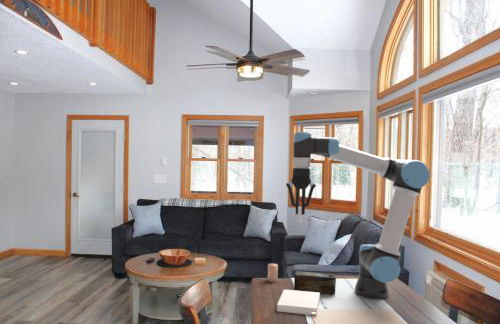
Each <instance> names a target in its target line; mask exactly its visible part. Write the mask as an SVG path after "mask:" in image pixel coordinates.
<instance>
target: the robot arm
mask: <svg viewBox="0 0 500 324" xmlns="http://www.w3.org/2000/svg"><path fill="white" fill-rule="evenodd" d="M292 142H293V144H292V145H293V149H292V150H293V152H292V153H293V154H292V167H293V168H292V178H291V180H290V181H289V182H287V183H286V184H285V185H286V188H287V189H288V194H289V199H290V202H291V203H290V204H291V205H292V206H293V207H295V215H297V223H302V222H303V215H305V214H306V212H305V211H306V207H309V206H310V203H311V199H312V197H313V192H314V190H315V188H316V187H317V185H316V184H315V183H313V182H312V180H311V169H310V167H311V159H312V158H311V155H316V156H320V157H323V158H328V159H331V160H334V161H337V162H340V163H343V164H345V165H346V164H347V165H350V166H352V167H355V168H359V169H363V170H365V171H369V172H372V173H375V174H377V175H379V177H380V178H382V179H386V180H389V181H391V182H393V183H392V188H393V190H394V192H393V196H392V198H391V203H390V204H389V205H390V206H389V208H388V212H387V213H386V214H387V215H386V217H385V222H384V224H383V227H382V231H381V233H380V236H379V241H378V242H377V243H375V244H374V243H373V244H369V243H367V244H363V243H362V244H361V245H360V246H359V251H358V252H359V256H358V262H359V265H358V266H359V267H358V268H359V269H358V270H359V272H358V278H357V281H356V284H355V286H354V293H355V294H356V295H357V294H358V295H357V296H359V295H360V296H359V297H362V296H363V297H362V298H365V297H366V299H371V298H372V299H373V300H382V299H387V298H389V288H388V283H391V282H394V281H395V280H396V279H397V278H398V277H399V276H400V274H401V273H400V272H401V267H400V266H401V265H400V263H399V262H400V258H401V253H400V250H399V249H400V246H401V242H402V240H403V236H404V234H405V230H406V227H407V224H408V220H409V217H410V214H411V211H412V207H413V205H414V201H415V198H416V197H418V196H419V195H421V191H422V188H423V187H425V186H426V185H427V184H428V182H429V181H430V177H431V176H430V174H431V173H430V169H429V168H428V166H427V165H426V163H424V162H423V161H421V160H418V159H396V158H391V157H387V156H386V157H380V156H377V155H373V154H370V153H368V152H365V151H364V152H363V151H361V150H358V149H355V148H351V147H348V146H345V145H342V144H340V140H339V138H338V137H332V136H331V137H330V136H329V137H326V136H325V137H320V136H319V137H317V136H316V137H315V136H312V132H309V131H306V132H305V131H296V132H295V133H294V135H293V141H292ZM292 187H294V188H295V197H294V192H293V188H292ZM308 187H309V188H310V189H309V191H308V196H307V199H306V191H307V190H306V189H307V188H308ZM300 192H301V193H300ZM300 195H301V206H300ZM372 299H371V300H372Z"/></svg>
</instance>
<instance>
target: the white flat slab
mask: <svg viewBox="0 0 500 324" xmlns="http://www.w3.org/2000/svg"><path fill="white" fill-rule="evenodd" d="M320 299H321V293H319V292H308V291H297V290H294V289H284V288H283V290H282V293H281V295H280V297H279V299H278V302H277V303H276V304H277V305H276V311H277V312H280V313H291V314H299V315H307V314H310V313H312V312H317V310H318V311H319V307H318V306H320ZM317 313H318V312H317Z"/></svg>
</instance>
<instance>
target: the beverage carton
mask: <svg viewBox="0 0 500 324" xmlns="http://www.w3.org/2000/svg"><path fill="white" fill-rule="evenodd" d="M293 280H294V281H293V287H294V288H293V290H297V291H308V292H319V293H320V294H321V293H322V294H335V295H336V286H337V285H336V284H337V276H336V274H333V273H321V272H311V271H310V272H309V271H295V274H294V279H293Z"/></svg>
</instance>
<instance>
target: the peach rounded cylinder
mask: <svg viewBox="0 0 500 324" xmlns="http://www.w3.org/2000/svg"><path fill="white" fill-rule="evenodd" d="M278 271H279V265H278V263H267V281H268V282H272V283H277V282H278V276H279V275H278V273H279V272H278Z"/></svg>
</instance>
